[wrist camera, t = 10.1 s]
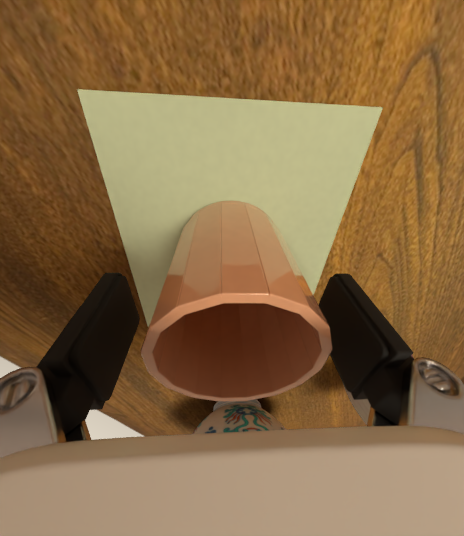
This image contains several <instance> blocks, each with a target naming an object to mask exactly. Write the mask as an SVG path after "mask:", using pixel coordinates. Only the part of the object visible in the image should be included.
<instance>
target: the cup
mask: <svg viewBox="0 0 464 536" xmlns="http://www.w3.org/2000/svg"><path fill="white" fill-rule="evenodd" d="M331 351H332V340H331V333H330V327H329V325H328V323H327V321H326V319H325V317H324V315H323V313H322V311H321V309H320V307H319V305H318V304H317V302H316V300H315V298H314V296H313V294H312V292H311V290H310V288H309V286H308V284H307V282H306V280H305V278H304V277H303V275H302V273H301V271H300V269H299V267H298V265H297V263H296V261H295V259H294V257H293V255H292V253H291V252H290V250H289V248H288V246H287V244H286V242H285V240H284V238H283V236H282V234H281V232H280V230H279V229H278V227H277V226H276V225H275V223H274V222H273V220H272V219H271V218H270V217H269V216H268V215H267V214H266V213H265V212H264V211H262V210H261V209H260V208H258V207H256V206H254V205H251V204H249V203H245V202H241V201H221V202H216V203H213V204H210V205H208V206H206V207H203V208H202V209H200V210H199V211H197V212H196V213H195V214H194V215H193V216H192V217H191V218H190V219H189V220H188V221H187V223H186V224H185V226H184V228H183V230H182V233H181V235H180V238H179V241H178V244H177V247H176V250H175V253H174V256H173V258H172V261H171V264H170V267H169V270H168V273H167V276H166V279H165V282H164V284H163V287H162V290H161V293H160V296H159V299H158V302H157V305H156V308H155V310H154V313H153V316H152V319H151V322H150V325H149V328H148V331H147V334H146V336H145V339H144V342H143V345H142V348H141V355H142V357H143V360H144V363H145V365H146V368H147V371H148V372H149V374H151V375H152V376H153V377H154V378H155V379H157V380H158V381H159V382H160V383H162V384H163V385H164V386H165V387H167V388H169V389H171V390H174V391H176V392H179V393H182V394H184V395H187V396H189V397H193V398H199V399H206V400H212V401H220V402H221V401H248V400H254V399H259V398H264V397H269V396H274V395H277V394H280V393H282V392H285V391H287V390H289V389H292V388H294V387H297V386H299V385H301V384H303V383H304V382H305V381H307V380H308V379H309V378H311V377H312V376H313V375H314V374H316V373H317V372H318V371H320V370H321V369H322V367H323V366H324V364H325V362H326V360H327V359H328V357H329V355H330V353H331Z"/></svg>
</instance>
